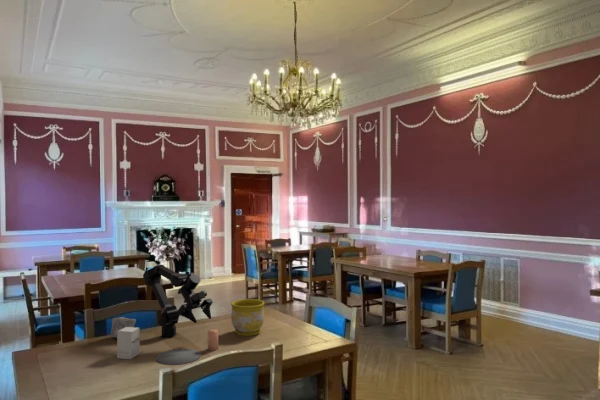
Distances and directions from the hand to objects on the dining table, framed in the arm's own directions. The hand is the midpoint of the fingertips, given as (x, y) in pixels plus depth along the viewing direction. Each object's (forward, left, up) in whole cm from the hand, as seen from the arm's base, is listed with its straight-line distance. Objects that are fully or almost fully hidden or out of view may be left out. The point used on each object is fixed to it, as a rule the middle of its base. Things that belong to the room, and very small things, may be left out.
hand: (203, 320), depth 227 cm
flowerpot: (+15, +26, -13) cm, 33 cm away
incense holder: (-47, +6, -13) cm, 49 cm away
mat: (-5, -16, -13) cm, 21 cm away
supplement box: (-29, -19, -13) cm, 37 cm away
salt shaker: (+6, -3, -13) cm, 15 cm away
